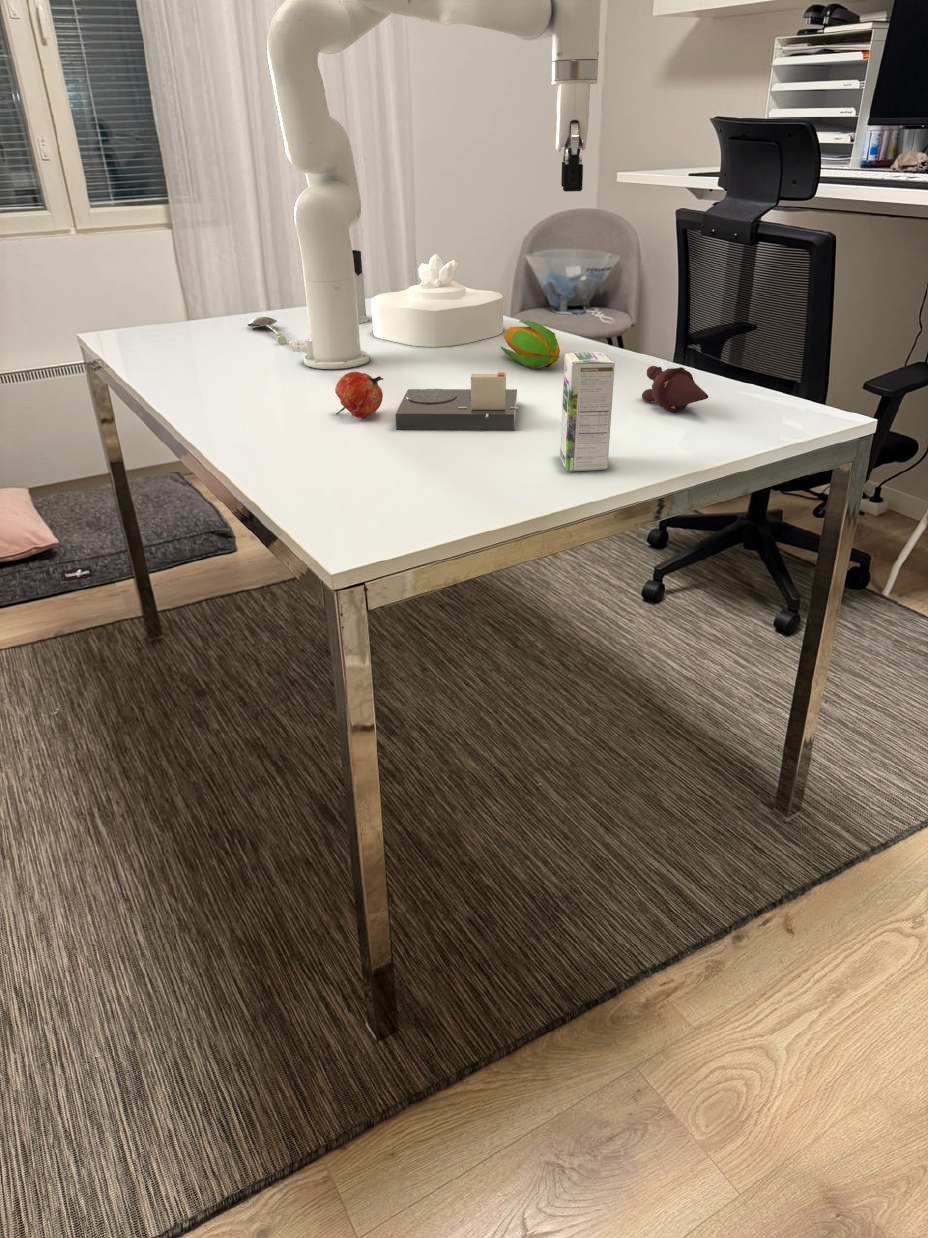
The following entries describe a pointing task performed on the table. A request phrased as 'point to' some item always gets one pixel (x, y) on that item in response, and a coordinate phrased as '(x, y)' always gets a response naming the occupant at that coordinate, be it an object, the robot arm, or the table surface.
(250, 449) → the table surface
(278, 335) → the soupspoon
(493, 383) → the hob knob
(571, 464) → the syrup box
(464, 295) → the white cake
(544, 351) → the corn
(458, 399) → the hob
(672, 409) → the icecream
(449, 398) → the hotplates
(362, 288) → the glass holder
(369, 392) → the pomegranate
